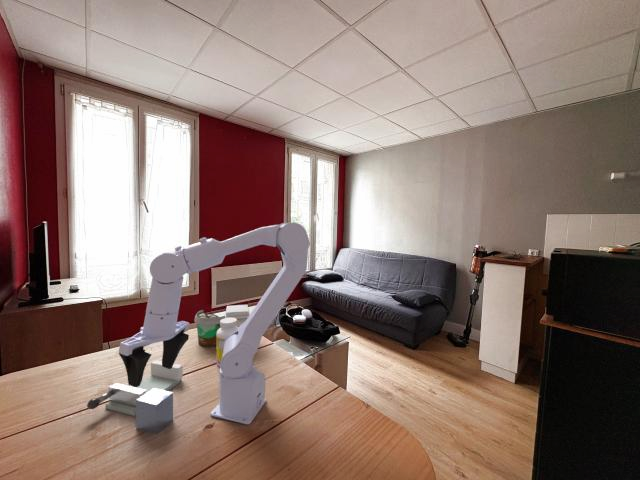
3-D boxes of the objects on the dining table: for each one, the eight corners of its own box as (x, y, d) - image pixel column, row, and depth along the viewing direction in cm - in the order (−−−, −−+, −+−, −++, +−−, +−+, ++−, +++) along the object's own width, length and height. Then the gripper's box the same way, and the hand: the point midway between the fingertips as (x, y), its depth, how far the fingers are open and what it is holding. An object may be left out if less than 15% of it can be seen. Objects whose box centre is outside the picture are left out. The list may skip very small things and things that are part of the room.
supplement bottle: (222, 355, 80) (223, 315, 80) (243, 357, 80) (243, 316, 79) (211, 367, 74) (212, 323, 73) (234, 369, 73) (234, 325, 72)
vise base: (182, 381, 67) (182, 365, 67) (135, 416, 55) (135, 397, 54) (155, 375, 69) (155, 360, 69) (104, 408, 57) (104, 389, 56)
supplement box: (226, 340, 91) (226, 305, 90) (248, 338, 93) (248, 304, 92) (225, 350, 84) (225, 312, 83) (248, 348, 86) (249, 310, 85)
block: (173, 420, 54) (173, 392, 54) (156, 434, 50) (156, 405, 50) (153, 414, 55) (153, 387, 55) (136, 429, 51) (135, 399, 51)
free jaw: (146, 402, 57) (145, 389, 57) (117, 423, 51) (117, 409, 51) (115, 394, 59) (115, 382, 59) (84, 413, 53) (84, 400, 53)
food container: (186, 343, 88) (186, 314, 88) (202, 336, 94) (202, 309, 93) (210, 352, 82) (211, 321, 82) (226, 344, 88) (226, 315, 87)
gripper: (175, 299, 61) (165, 355, 61) (111, 314, 47) (98, 387, 47) (200, 306, 59) (190, 364, 59) (141, 324, 45) (128, 400, 45)
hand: (151, 375), depth 53 cm, fingers open, 7 cm apart
